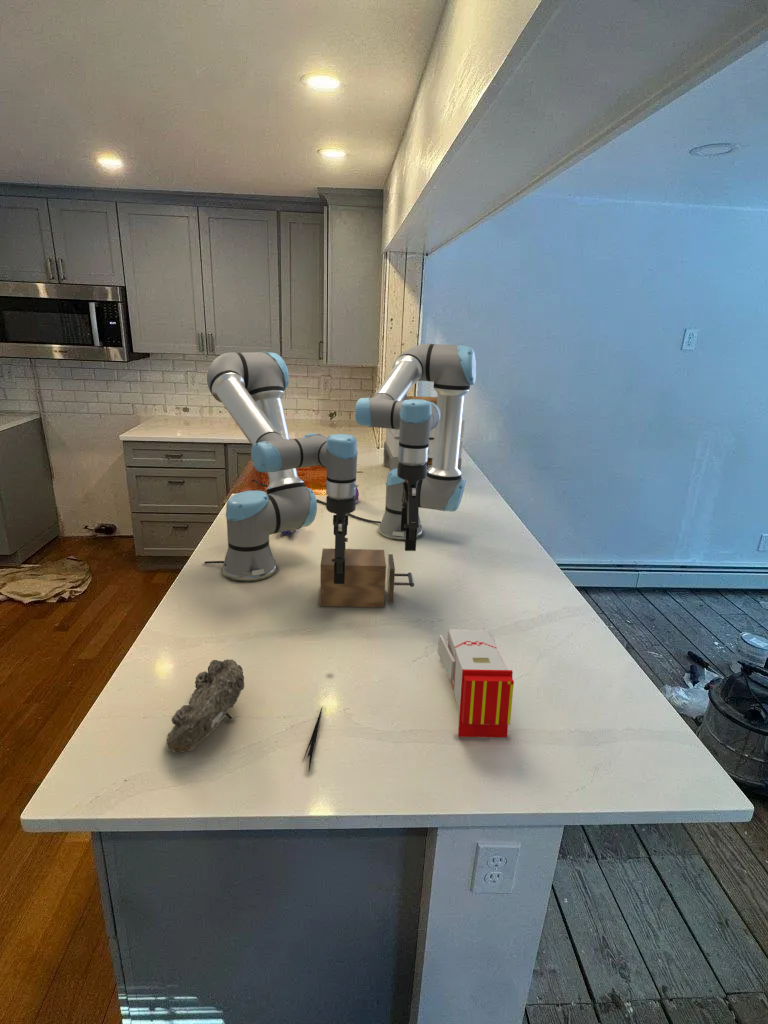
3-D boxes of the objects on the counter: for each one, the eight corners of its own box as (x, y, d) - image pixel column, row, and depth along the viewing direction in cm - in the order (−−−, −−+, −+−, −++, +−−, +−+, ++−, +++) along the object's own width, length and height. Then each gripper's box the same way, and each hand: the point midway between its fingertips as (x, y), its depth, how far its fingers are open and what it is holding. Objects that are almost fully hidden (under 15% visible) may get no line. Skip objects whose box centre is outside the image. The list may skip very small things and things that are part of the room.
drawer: (410, 586, 160) (412, 554, 157) (413, 603, 151) (416, 569, 148) (335, 585, 159) (336, 553, 155) (334, 601, 150) (335, 567, 147)
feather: (331, 679, 122) (336, 673, 122) (307, 777, 96) (313, 769, 95) (324, 675, 122) (329, 669, 121) (298, 772, 95) (304, 764, 95)
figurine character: (295, 542, 192) (300, 522, 205) (294, 523, 188) (300, 503, 202) (275, 542, 191) (282, 521, 205) (274, 522, 188) (281, 502, 201)
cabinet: (382, 588, 160) (384, 549, 156) (384, 607, 151) (386, 566, 147) (322, 587, 159) (322, 548, 155) (320, 606, 150) (320, 564, 145)
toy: (488, 613, 130) (523, 677, 101) (484, 667, 133) (517, 744, 104) (435, 612, 130) (455, 676, 101) (432, 666, 133) (451, 743, 103)
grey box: (382, 463, 289) (386, 382, 275) (445, 464, 293) (451, 384, 279) (390, 482, 257) (394, 392, 243) (460, 483, 261) (468, 394, 247)
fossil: (192, 660, 117) (244, 628, 112) (224, 691, 120) (276, 661, 115) (142, 746, 98) (202, 712, 93) (182, 779, 101) (242, 748, 96)
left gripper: (356, 511, 134) (353, 594, 142) (355, 482, 156) (353, 556, 163) (324, 510, 134) (323, 593, 141) (328, 482, 155) (327, 555, 163)
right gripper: (434, 476, 132) (427, 559, 139) (421, 450, 155) (416, 523, 162) (401, 475, 131) (397, 559, 138) (394, 450, 154) (390, 522, 162)
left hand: (339, 573), depth 152 cm, fingers closed on cabinet, 10 cm apart
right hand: (407, 540), depth 150 cm, fingers open, 13 cm apart
